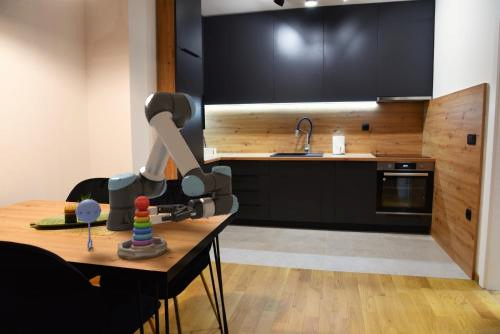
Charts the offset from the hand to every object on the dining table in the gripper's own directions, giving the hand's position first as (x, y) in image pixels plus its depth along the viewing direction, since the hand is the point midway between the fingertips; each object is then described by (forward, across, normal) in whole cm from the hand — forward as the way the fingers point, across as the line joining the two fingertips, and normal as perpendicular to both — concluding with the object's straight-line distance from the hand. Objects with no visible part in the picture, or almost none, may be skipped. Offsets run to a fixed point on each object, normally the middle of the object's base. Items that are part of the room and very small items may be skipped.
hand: (145, 216), depth 130 cm
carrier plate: (+1, 0, -13) cm, 13 cm away
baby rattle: (+16, +16, -13) cm, 26 cm away
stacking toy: (+1, 0, -12) cm, 12 cm away
